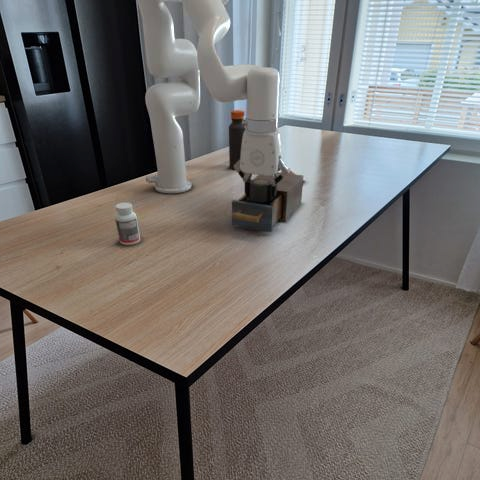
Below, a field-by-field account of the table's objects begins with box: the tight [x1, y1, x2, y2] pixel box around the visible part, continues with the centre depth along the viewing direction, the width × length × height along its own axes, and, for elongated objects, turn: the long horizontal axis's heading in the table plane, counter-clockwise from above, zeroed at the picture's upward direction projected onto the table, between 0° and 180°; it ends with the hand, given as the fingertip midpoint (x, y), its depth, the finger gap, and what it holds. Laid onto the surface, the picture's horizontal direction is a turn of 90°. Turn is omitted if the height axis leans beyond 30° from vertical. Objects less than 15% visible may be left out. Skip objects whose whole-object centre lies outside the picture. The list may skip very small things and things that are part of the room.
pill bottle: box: [114, 202, 141, 246], centre depth 105 cm, size 5×5×10 cm
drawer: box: [231, 193, 284, 233], centre depth 113 cm, size 19×12×7 cm, turn 156°
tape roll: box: [249, 178, 271, 203], centre depth 111 cm, size 6×6×5 cm
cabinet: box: [244, 171, 304, 223], centre depth 123 cm, size 16×13×9 cm
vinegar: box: [228, 109, 247, 171], centre depth 154 cm, size 7×7×20 cm
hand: (260, 196), depth 112 cm, fingers closed on tape roll, 6 cm apart
